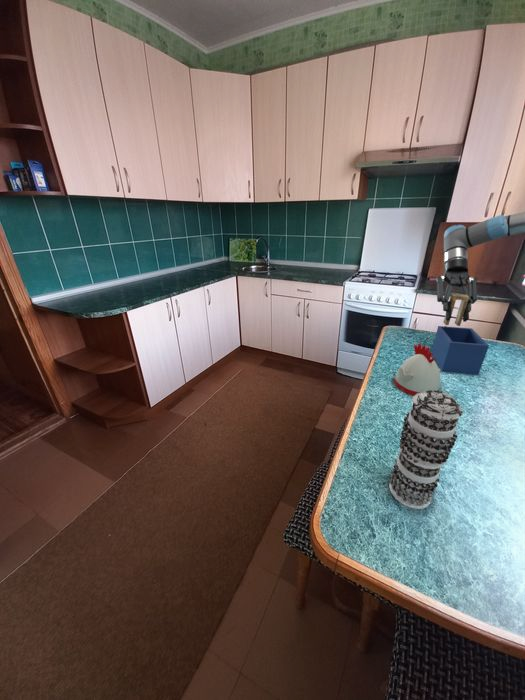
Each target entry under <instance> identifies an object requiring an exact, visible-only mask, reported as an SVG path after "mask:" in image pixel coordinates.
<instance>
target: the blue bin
mask: <svg viewBox="0 0 525 700" xmlns="http://www.w3.org/2000/svg"><path fill="white" fill-rule="evenodd" d="M445 326H446V325H444V326H443V325H438V326H437V330H436V333H435V336H434V339H433V344H432V347H431V350H430V353H432V352H433V354H432V355H431V356H432V357H433V358H435V360H434V361H435V362H436V364H437V366H438V368H440V369H441V371H440V372H446V373H447V372H449V373H457V374H467V375H476V376H478V375H479V374H480V371H481V369H482V366H483V363H484V361H485V357H486V355H487V352H488V350H489V347H490V346H489V343H487V342H486V341H485V340H484V338H482V337H481V336H480V335H479V334H478V333H477V332H476V331H475V329H473V328H471V327H460V326H457V327H456V326H447V327H445Z"/></svg>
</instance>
